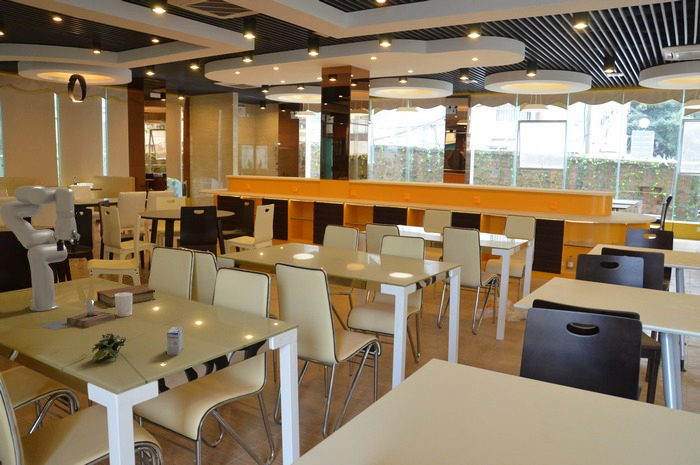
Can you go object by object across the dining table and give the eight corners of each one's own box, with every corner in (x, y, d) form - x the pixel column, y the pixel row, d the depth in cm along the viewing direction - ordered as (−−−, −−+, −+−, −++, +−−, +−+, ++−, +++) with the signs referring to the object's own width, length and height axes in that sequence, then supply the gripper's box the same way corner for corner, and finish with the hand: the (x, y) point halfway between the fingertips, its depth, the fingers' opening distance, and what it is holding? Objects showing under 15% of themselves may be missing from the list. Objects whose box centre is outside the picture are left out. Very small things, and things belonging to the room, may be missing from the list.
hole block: (67, 324, 251) (66, 317, 250) (93, 316, 263) (93, 310, 263) (88, 328, 244) (88, 321, 244) (114, 320, 257) (114, 314, 257)
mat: (37, 327, 246) (37, 326, 246) (58, 321, 255) (58, 320, 255) (56, 330, 240) (55, 329, 240) (76, 324, 249) (76, 324, 249)
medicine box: (171, 348, 219) (171, 326, 218) (183, 348, 220) (182, 326, 219) (167, 355, 212) (166, 332, 211) (179, 354, 212) (178, 332, 211)
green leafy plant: (109, 369, 211) (123, 339, 216) (122, 371, 204) (136, 340, 209) (81, 359, 204) (96, 328, 209) (94, 360, 197) (110, 328, 202)
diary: (140, 295, 310) (139, 284, 309) (155, 301, 296) (155, 290, 296) (97, 301, 294) (96, 290, 293) (111, 308, 280) (111, 296, 280)
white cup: (136, 313, 270) (135, 292, 269) (128, 317, 262) (127, 296, 261) (120, 312, 271) (119, 292, 270) (112, 316, 263) (111, 295, 262)
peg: (85, 322, 253) (84, 301, 252) (91, 321, 256) (90, 299, 255) (90, 323, 252) (89, 301, 251) (96, 321, 254) (95, 300, 253)
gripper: (45, 215, 261) (47, 251, 263) (70, 216, 253) (72, 254, 255) (60, 213, 267) (62, 249, 269) (85, 215, 260) (87, 252, 262)
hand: (67, 251), depth 262 cm, fingers open, 9 cm apart
